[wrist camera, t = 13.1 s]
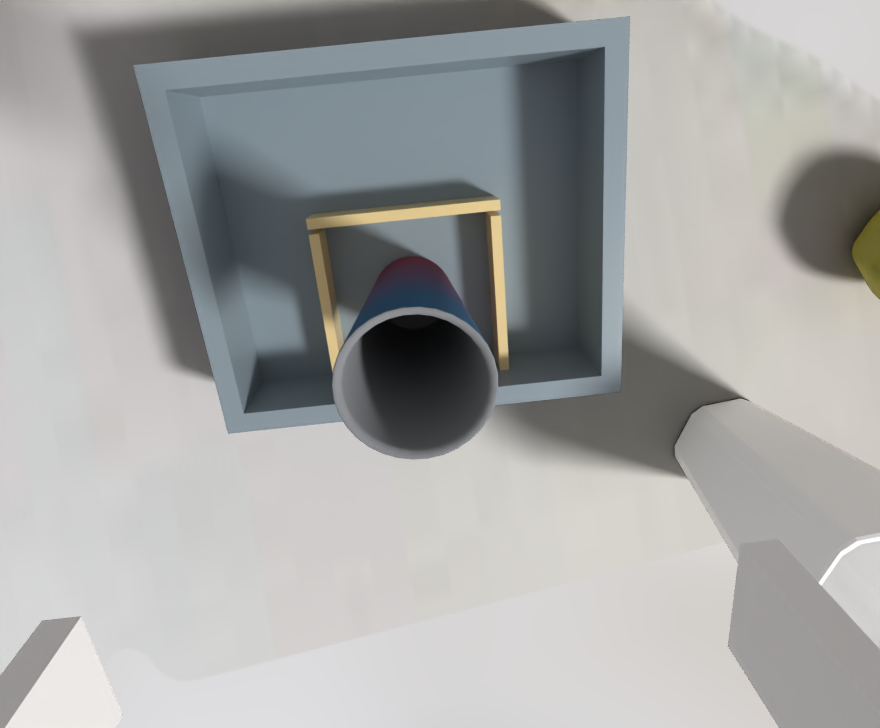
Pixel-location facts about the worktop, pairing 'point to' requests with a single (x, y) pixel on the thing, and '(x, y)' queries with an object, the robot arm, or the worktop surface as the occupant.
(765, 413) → the cup
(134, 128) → the worktop surface
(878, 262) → the apple
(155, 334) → the worktop surface
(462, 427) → the cup
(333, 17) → the worktop surface
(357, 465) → the worktop surface
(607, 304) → the walled box
